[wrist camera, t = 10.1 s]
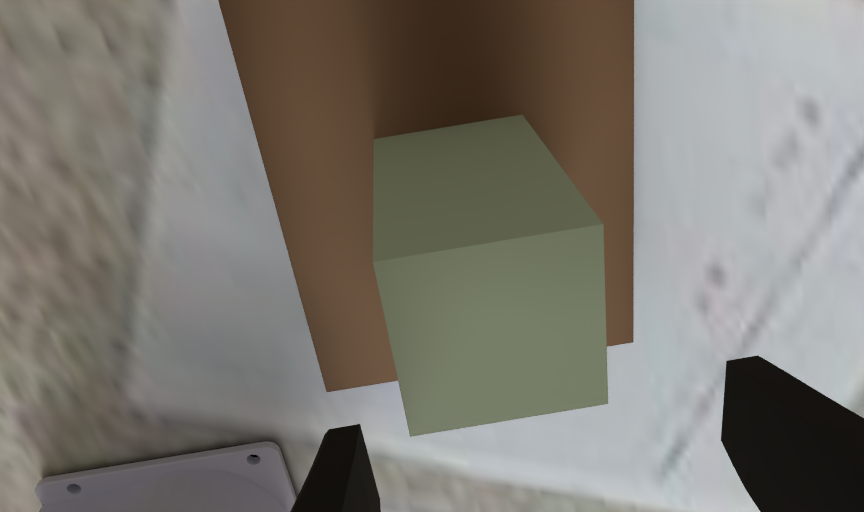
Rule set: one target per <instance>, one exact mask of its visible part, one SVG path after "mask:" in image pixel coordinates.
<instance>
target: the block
mask: <svg viewBox="0 0 864 512" xmlns="http://www.w3.org/2000/svg"><path fill="white" fill-rule="evenodd" d="M373 265H374V270H375V274H376V279H377V284H378V288H379V293H380V298H381V302H382V307H383V312H384V316H385V321H386V326H387V330H388V335H389V340H390V344H391V349H392V354H393V358H394V363H395V368H396V372H397V377H398V382H399V386H400V391H401V396H402V401H403V405H404V410H405V415H406V419H407V424H408V429H409V433H410V437H411V436H417V435H423V434H429V433H435V432H441V431H447V430H453V429H459V428H465V427H471V426H477V425H483V424H489V423H495V422H501V421H507V420H513V419H519V418H525V417H531V416H537V415H543V414H549V413H555V412H561V411H567V410H573V409H580V408H586V407H592V406H598V405H604V404H608V381H607V343H606V305H605V266H604V228H603V223H602V221H601V220H600V219H599V217H598V216H597V215H596V213H595V212H594V211H593V209H592V208H591V207H590V205H589V204H588V203H587V201H586V200H585V198H584V197H583V196H582V194H581V193H580V192H579V190H578V189H577V188H576V186H575V185H574V184H573V182H572V181H571V180H570V178H569V177H568V175H567V174H566V173H565V171H564V170H563V169H562V167H561V166H560V165H559V163H558V162H557V161H556V159H555V158H554V157H553V155H552V154H551V153H550V151H549V150H548V148H547V147H546V146H545V144H544V143H543V142H542V140H541V139H540V138H539V136H538V135H537V134H536V132H535V131H534V130H533V128H532V127H531V125H530V124H529V123H528V121H527V120H526V119H525V117H524V116H523V115H517V116H510V117H504V118H498V119H492V120H486V121H480V122H474V123H468V124H462V125H456V126H450V127H444V128H438V129H432V130H426V131H420V132H414V133H408V134H402V135H396V136H390V137H384V138H377V139H374V167H373Z"/></svg>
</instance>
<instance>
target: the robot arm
mask: <svg viewBox="0 0 864 512" xmlns="http://www.w3.org/2000/svg"><path fill="white" fill-rule="evenodd" d="M721 441H722V443H723V445H724V447H725V449H726V451H727V453H728V456H729V458H730V460H731V462H732V464H733V466H734V468H735V470H736V472H737V474H738V476H739V477H740V479H741V481H742V483H743V485H744V487H745V489H746V490H747V492H748V493H749V495H750V496H751V498H752V500H753V501H754V503H755V504H756V506H757V507H758V509H759V510H760V512H864V418H862V417H860V416H859V415H857V414H855V413H854V412H852V411H850V410H848V409H847V408H845V407H843V406H841V405H840V404H838V403H836V402H835V401H833V400H831V399H830V398H828V397H826V396H825V395H823V394H821V393H820V392H818V391H816V390H815V389H813V388H811V387H810V386H808V385H806V384H805V383H803V382H801V381H800V380H798V379H797V378H795V377H793V376H792V375H790V374H788V373H787V372H785V371H783V370H782V369H780V368H778V367H777V366H775V365H773V364H772V363H770V362H768V361H766V360H765V359H763V358H761V357H759V356H753V357H747V358H741V359H735V360H730V361H727V363H726V377H725V391H724V406H723V420H722V434H721ZM250 455H257V456H259V457H252V456H250ZM74 484H76V485H79V486H76V485H74ZM35 492H36V495H37V497H38V498H39V500H40V502H41V503H42V505H43V506H42V508H41V510H40V511H39V512H381V510H380V498H379V494H378V490H377V487H376V483H375V479H374V475H373V471H372V468H371V464H370V460H369V456H368V453H367V449H366V445H365V441H364V438H363V434H362V430H361V426H360V424H358V425H352V426H346V427H340V428H334V429H329V430H328V431H327V433H326V434H325V435H324V438H323V440H322V443H321V445H320V448H319V450H318V453H317V455H316V458H315V460H314V462H313V465H312V467H311V469H310V471H309V474H308V476H307V478H306V480H305V482H304V485H303V487H302V489H301V491H300V493H299V495H298V497H297V498H296V495H295V492H294V489H293V486H292V483H291V480H290V477H289V474H288V471H287V468H286V465H285V462H284V459H283V456H282V453H281V450H280V448H279V446H278V445H277V444H275V443H273V442H259V443H252V444H246V445H240V446H234V447H228V448H222V449H216V450H209V451H203V452H197V453H191V454H185V455H179V456H173V457H166V458H160V459H154V460H148V461H142V462H136V463H130V464H124V465H117V466H111V467H105V468H99V469H93V470H87V471H81V472H74V473H68V474H62V475H56V476H50V477H45V478H42V479H41V480H40V481H39V483H38V485H37V486H36V489H35Z"/></svg>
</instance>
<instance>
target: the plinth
mask: <svg viewBox="0 0 864 512" xmlns="http://www.w3.org/2000/svg"><path fill="white" fill-rule="evenodd" d="M219 4H220V8H221V11H222V15H223V19H224V22H225V26H226V29H227V33H228V37H229V40H230V44H231V48H232V51H233V55H234V58H235V62H236V66H237V69H238V73H239V76H240V80H241V84H242V87H243V91H244V95H245V98H246V102H247V105H248V109H249V113H250V116H251V120H252V124H253V127H254V131H255V134H256V138H257V142H258V145H259V149H260V152H261V156H262V160H263V163H264V167H265V171H266V174H267V178H268V181H269V185H270V189H271V192H272V196H273V199H274V203H275V207H276V210H277V214H278V218H279V221H280V225H281V228H282V232H283V236H284V239H285V243H286V247H287V250H288V254H289V257H290V261H291V265H292V268H293V272H294V275H295V279H296V283H297V286H298V290H299V294H300V297H301V301H302V304H303V308H304V312H305V315H306V319H307V323H308V326H309V330H310V333H311V337H312V341H313V344H314V348H315V351H316V355H317V359H318V362H319V366H320V370H321V373H322V377H323V380H324V384H325V388H326V391H327V392H331V391H337V390H343V389H349V388H355V387H361V386H367V385H374V384H380V383H386V382H392V381H398V377H397V372H396V368H395V363H394V358H393V354H392V349H391V344H390V340H389V335H388V330H387V326H386V321H385V316H384V312H383V307H382V302H381V298H380V293H379V288H378V284H377V279H376V274H375V270H374V265H373V167H374V139H377V138H384V137H390V136H396V135H402V134H408V133H414V132H420V131H426V130H432V129H438V128H444V127H450V126H456V125H462V124H468V123H474V122H480V121H486V120H492V119H498V118H504V117H510V116H517V115H523V116H524V117H525V119H526V120H527V121H528V123H529V124H530V125H531V127H532V128H533V130H534V131H535V132H536V134H537V135H538V136H539V138H540V139H541V140H542V142H543V143H544V144H545V146H546V147H547V148H548V150H549V151H550V153H551V154H552V155H553V157H554V158H555V159H556V161H557V162H558V163H559V165H560V166H561V167H562V169H563V170H564V171H565V173H566V174H567V175H568V177H569V178H570V180H571V181H572V182H573V184H574V185H575V186H576V188H577V189H578V190H579V192H580V193H581V194H582V196H583V197H584V198H585V200H586V201H587V203H588V204H589V205H590V207H591V208H592V209H593V211H594V212H595V213H596V215H597V216H598V217H599V219H600V220H601V221H602V223H603V228H604V266H605V305H606V343H607V346H613V345H619V344H625V343H632V342H633V227H634V0H219Z"/></svg>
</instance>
